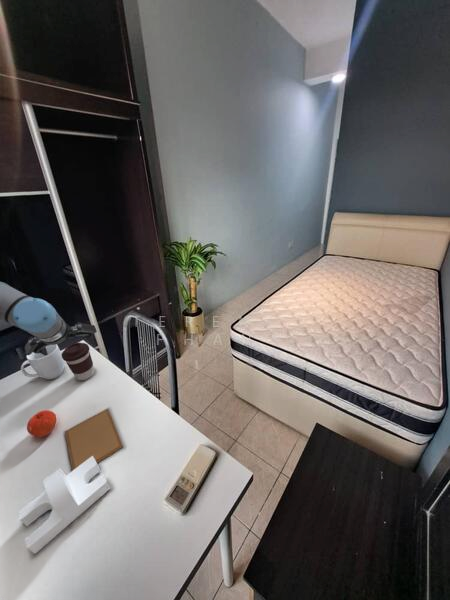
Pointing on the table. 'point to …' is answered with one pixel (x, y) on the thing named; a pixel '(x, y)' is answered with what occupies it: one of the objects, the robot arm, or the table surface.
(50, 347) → the mug
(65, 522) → the block with arch cutout
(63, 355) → the coffee cup
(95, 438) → the placemat
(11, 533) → the table surface
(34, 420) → the apple
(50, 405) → the table surface
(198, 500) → the table surface
